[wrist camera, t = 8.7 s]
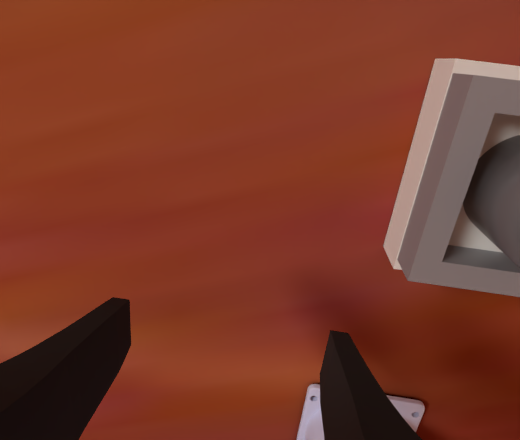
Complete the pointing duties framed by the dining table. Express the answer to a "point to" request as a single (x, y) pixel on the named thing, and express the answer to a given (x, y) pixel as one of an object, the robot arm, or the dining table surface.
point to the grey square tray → (454, 179)
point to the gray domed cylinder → (497, 197)
